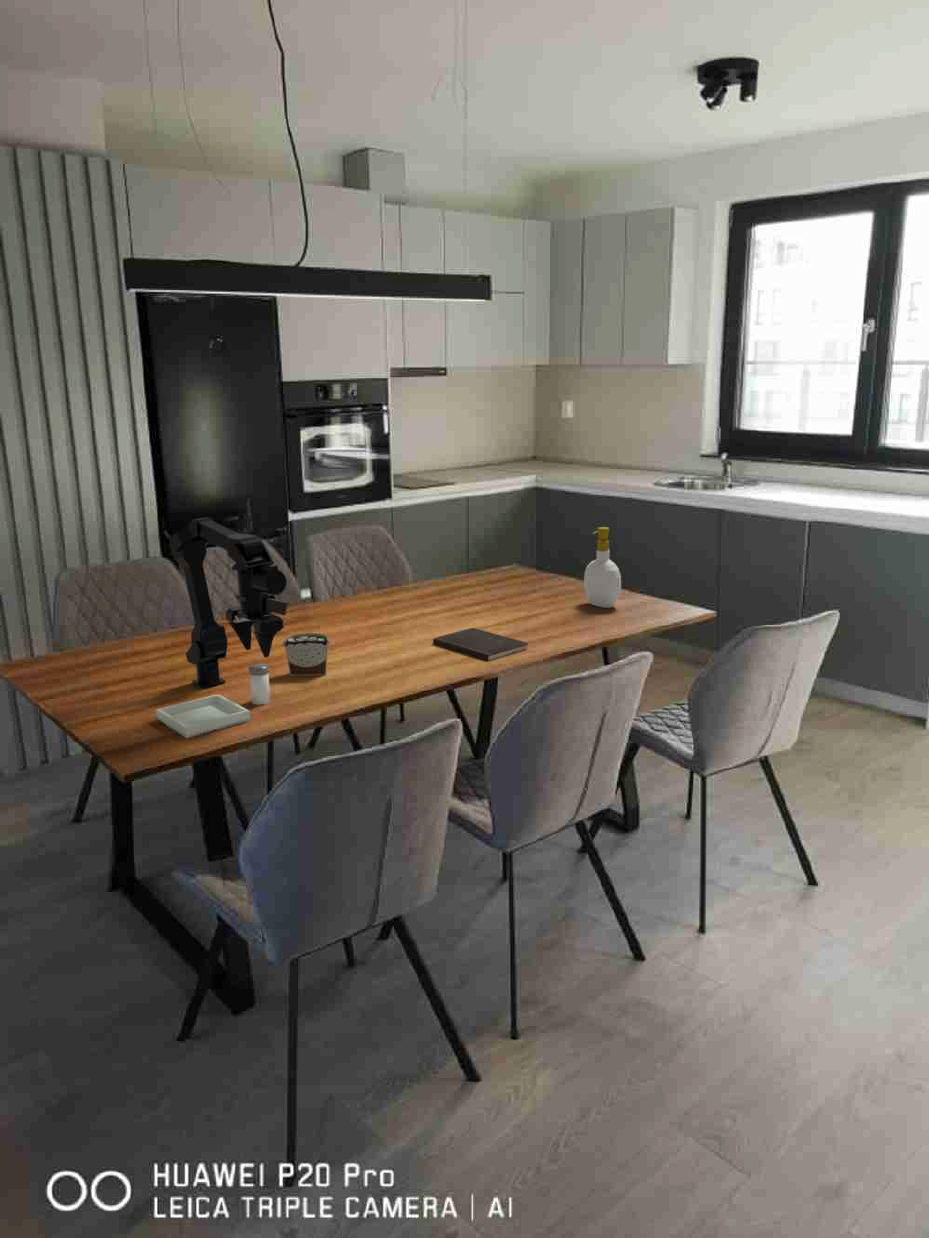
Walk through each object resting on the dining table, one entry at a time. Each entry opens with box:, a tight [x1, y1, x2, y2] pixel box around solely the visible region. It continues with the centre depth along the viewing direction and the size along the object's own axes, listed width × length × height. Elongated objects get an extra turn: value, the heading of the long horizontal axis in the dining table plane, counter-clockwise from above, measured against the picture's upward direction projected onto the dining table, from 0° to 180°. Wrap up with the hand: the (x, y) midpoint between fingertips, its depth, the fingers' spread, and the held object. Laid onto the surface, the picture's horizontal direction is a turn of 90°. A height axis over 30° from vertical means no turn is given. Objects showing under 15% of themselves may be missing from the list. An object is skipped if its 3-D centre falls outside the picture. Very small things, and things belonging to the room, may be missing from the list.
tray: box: [156, 693, 251, 739], centre depth 223 cm, size 16×16×2 cm
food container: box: [282, 632, 331, 677], centre depth 255 cm, size 12×6×10 cm, turn 92°
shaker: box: [248, 663, 271, 706], centre depth 234 cm, size 5×5×9 cm
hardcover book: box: [432, 627, 529, 662], centre depth 276 cm, size 16×23×2 cm
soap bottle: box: [583, 526, 622, 609], centre depth 314 cm, size 14×9×26 cm, turn 40°
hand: (257, 653), depth 231 cm, fingers open, 9 cm apart
